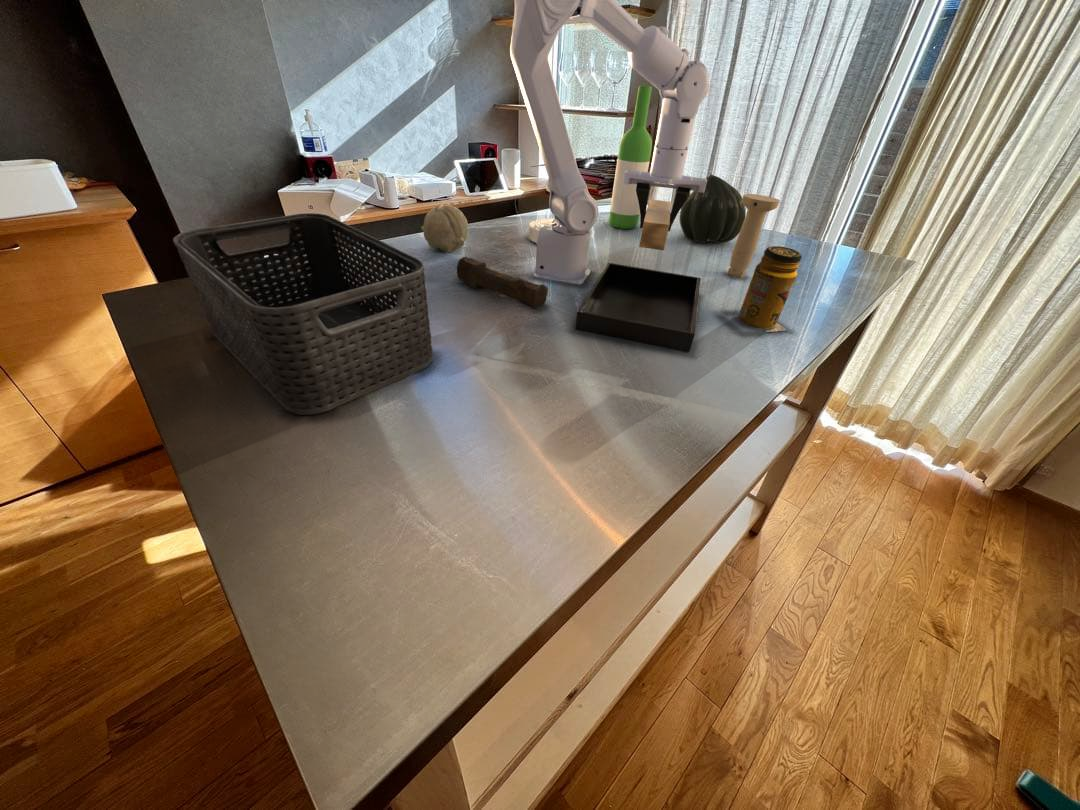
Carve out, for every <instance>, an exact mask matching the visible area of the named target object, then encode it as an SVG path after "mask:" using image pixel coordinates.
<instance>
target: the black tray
mask: <svg viewBox="0 0 1080 810" xmlns="http://www.w3.org/2000/svg"><path fill="white" fill-rule="evenodd" d="M701 280H702V279H701V277H698V276H692V275H686V274H680V273H675V272H674V273H673V272H668V271H662V270H656V269H651V268H644V267H637V266H632V265H627V264H626V265H625V264H619V263H614V262H607V263H606V265H605V266H604V268H603V269H602V271H601V273H600V275H598V278H597V280H596V281H595V283H594V284H593V286H591V289H590V290H589V292H588V294H587V295H586V297H585V299H584V300H583V302H582V303H581V305H580V307H579V308H578V310H577V311H576V320H575V331H579V332H583V333H589V334H593V335H599V336H605V337H609V338H614V339H619V340H623V341H628V342H634V343H639V344H643V345H649V346H653V347H658V348H663V349H668V350H673V351H678V352H683V353H687V354H690V351H691V349H692V345H693V342H694V339H695V335H696V326H697V318H698V309H699V307H698V306H699V300H700V299H699V298H700V290H701V289H700V288H701Z"/></svg>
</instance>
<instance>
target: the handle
mask: <svg viewBox="0 0 1080 810" xmlns="http://www.w3.org/2000/svg"><path fill="white" fill-rule="evenodd" d="M780 201H781V200H780V199H779V198H775V197H773V196H768V195H762V194H755V193H745V194H743V196H742V203H743V205H744V206H745V209H747V210H746V216H745V220H744V222H743V225H742V228H741V230H740V233H739V234H738V235H737V237H736V238H737V239H736V241H735V243H734V246H733V250H732V252H731V257H730V261H729V268H728V270H727V274H728V276H730V277H731V278H737V279H742V278H743V277H745V275H746V273H747V270H748V268H749V267H750V265H751V262H752V259H753V257H754V255H755V252H756V249H757V246H758V242H759V238H760V235H761V231H762V228H763V224H764V221H765V218H766V216H767V214H768V212H770V211H774V210H776V209H777V208H778V206H779V205H780Z"/></svg>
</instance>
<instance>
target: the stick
mask: <svg viewBox="0 0 1080 810" xmlns="http://www.w3.org/2000/svg"><path fill="white" fill-rule="evenodd" d="M671 210H672V202H671V201H668V200H659V199H651V198H648V203H647V208H646V215H645V219H644V223H643V228H641V229H642V230H641V234H640V239H639V245H638V247H639V248H643V249H650V250H656V251H657V250H658V251H664V250H665V247H666V241H667V238H668V234H669V231H668V229H669V224H670V213H671Z"/></svg>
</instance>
